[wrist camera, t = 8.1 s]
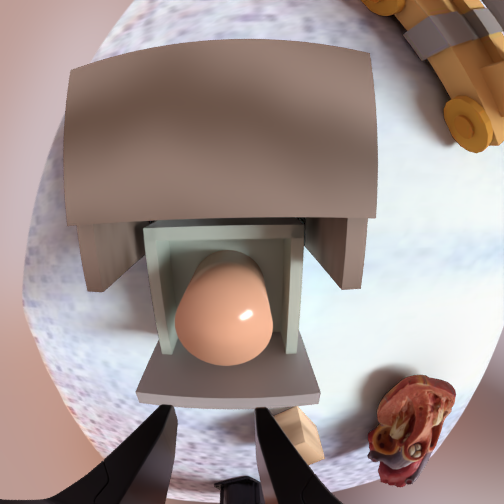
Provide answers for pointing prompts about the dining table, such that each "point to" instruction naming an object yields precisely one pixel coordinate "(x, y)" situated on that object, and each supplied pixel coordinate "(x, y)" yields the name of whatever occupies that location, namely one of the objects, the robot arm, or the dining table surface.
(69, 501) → the robot arm
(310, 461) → the block
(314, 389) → the drawer
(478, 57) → the toy cannon
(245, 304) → the tan rounded cylinder
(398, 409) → the anatomical model
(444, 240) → the dining table surface
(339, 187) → the housing
